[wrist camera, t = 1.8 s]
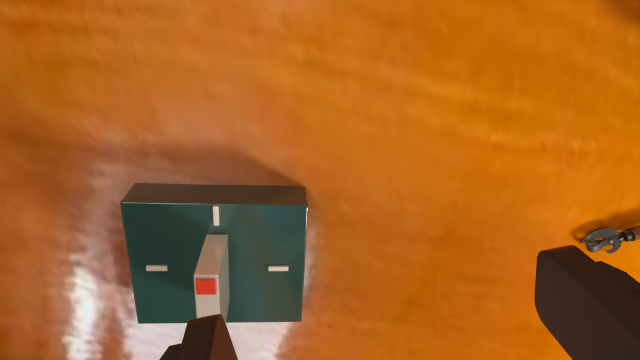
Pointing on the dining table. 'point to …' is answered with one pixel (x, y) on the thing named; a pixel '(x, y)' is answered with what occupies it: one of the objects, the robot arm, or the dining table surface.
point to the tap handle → (212, 277)
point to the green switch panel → (243, 248)
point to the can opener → (610, 238)
